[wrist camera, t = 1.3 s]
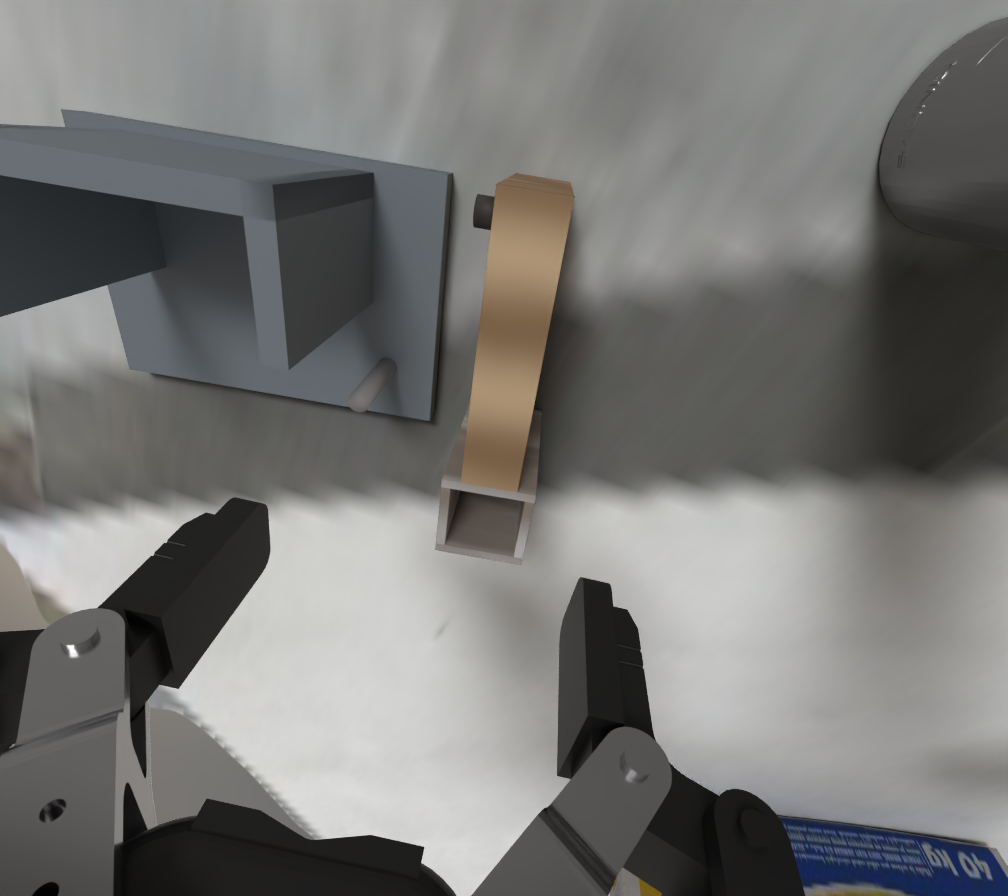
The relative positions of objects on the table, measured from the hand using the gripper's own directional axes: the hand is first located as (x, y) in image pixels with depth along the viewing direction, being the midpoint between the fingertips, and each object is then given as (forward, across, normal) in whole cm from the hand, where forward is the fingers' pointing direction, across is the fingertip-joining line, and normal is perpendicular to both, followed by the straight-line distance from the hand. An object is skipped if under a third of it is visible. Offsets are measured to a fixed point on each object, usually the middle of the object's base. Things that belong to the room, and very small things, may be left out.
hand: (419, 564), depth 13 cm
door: (+22, -1, +2) cm, 22 cm away
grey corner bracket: (+22, +15, +1) cm, 26 cm away
